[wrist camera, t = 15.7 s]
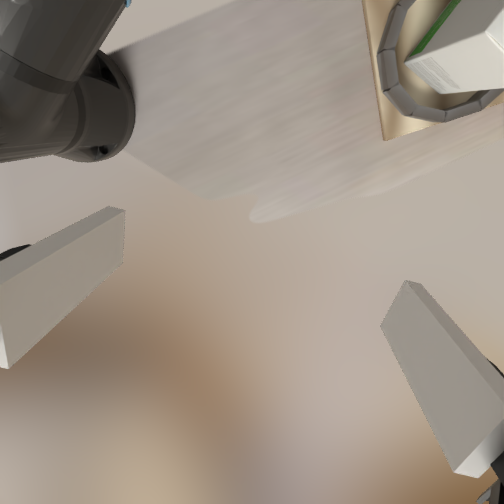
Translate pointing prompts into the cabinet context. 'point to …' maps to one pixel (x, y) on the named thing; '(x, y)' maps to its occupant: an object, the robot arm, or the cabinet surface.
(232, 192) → the cabinet surface
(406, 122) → the collar
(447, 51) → the skincare box
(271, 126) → the cabinet surface
